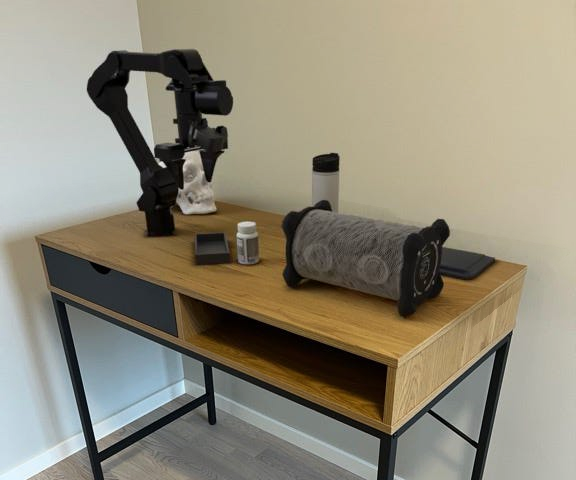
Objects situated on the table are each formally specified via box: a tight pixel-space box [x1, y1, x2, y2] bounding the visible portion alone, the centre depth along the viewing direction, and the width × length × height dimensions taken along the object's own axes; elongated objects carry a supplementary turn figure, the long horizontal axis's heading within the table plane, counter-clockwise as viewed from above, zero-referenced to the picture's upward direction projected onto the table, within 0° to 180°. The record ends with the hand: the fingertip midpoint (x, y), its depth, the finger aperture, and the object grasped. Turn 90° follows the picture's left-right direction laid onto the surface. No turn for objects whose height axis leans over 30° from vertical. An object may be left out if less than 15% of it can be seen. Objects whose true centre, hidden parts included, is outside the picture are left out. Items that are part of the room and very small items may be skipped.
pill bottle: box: [236, 221, 260, 265], centre depth 130 cm, size 5×5×8 cm
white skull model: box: [157, 150, 217, 216], centre depth 170 cm, size 14×20×19 cm
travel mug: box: [311, 152, 341, 213], centre depth 139 cm, size 6×7×20 cm
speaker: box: [281, 200, 451, 318], centre depth 112 cm, size 15×29×15 cm, turn 53°
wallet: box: [439, 246, 496, 281], centre depth 130 cm, size 20×2×15 cm
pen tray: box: [194, 231, 231, 266], centre depth 137 cm, size 16×8×2 cm, turn 8°
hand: (195, 185), depth 140 cm, fingers open, 9 cm apart
